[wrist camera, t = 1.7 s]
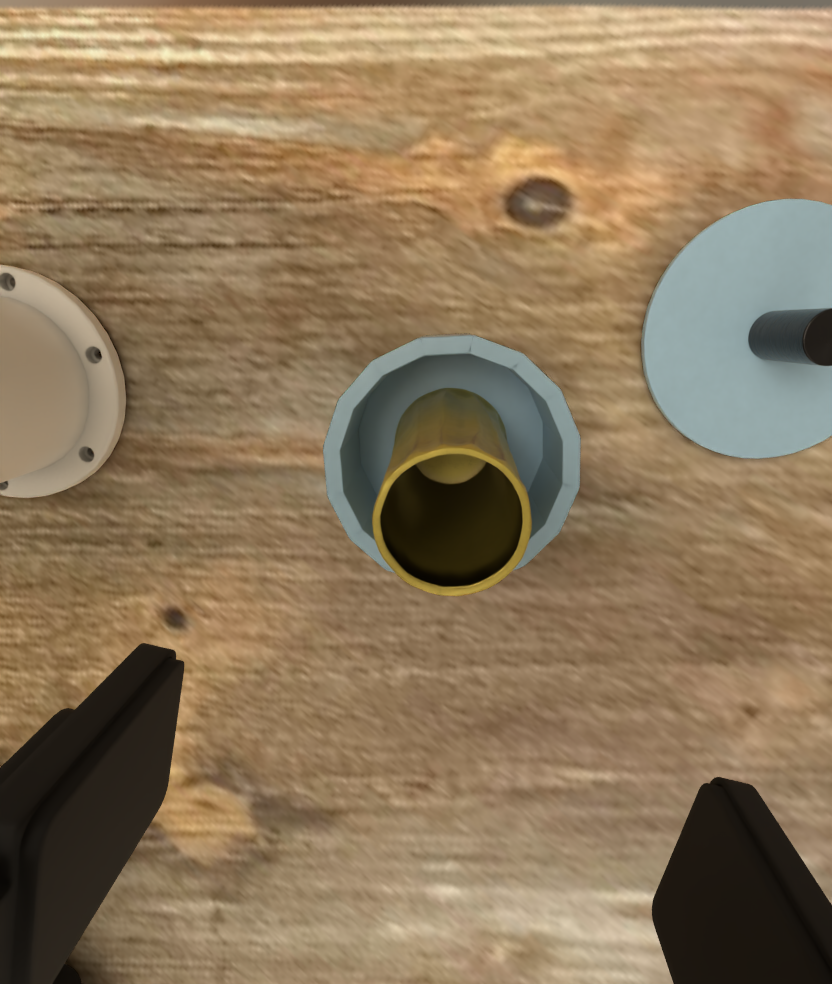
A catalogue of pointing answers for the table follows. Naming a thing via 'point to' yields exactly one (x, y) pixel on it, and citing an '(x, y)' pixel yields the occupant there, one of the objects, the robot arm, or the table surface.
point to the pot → (465, 365)
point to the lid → (747, 332)
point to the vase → (452, 497)
